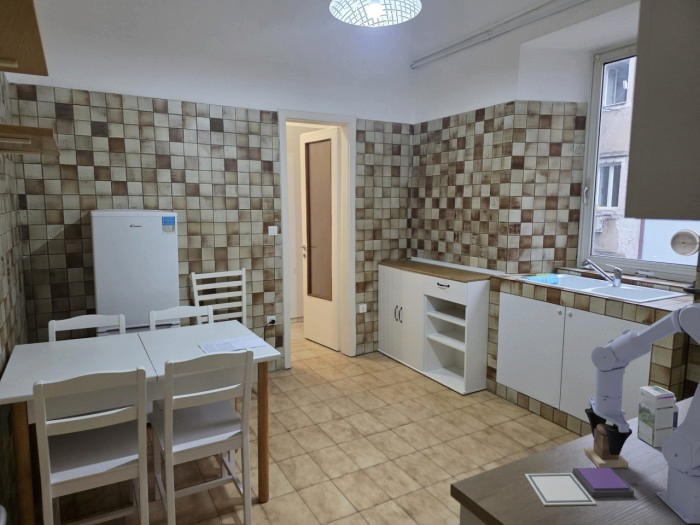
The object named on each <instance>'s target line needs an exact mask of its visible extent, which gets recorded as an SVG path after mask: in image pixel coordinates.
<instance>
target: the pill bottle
mask: <svg viewBox="0 0 700 525" xmlns="http://www.w3.org/2000/svg"><path fill="white" fill-rule="evenodd" d="M676 403H677V397H676V396H674V413H673V430H672V433H673V431H674V430H675V429H676V428H677V427H678V422H679V421H678V420H679V406H678V405H677V404H676Z"/></svg>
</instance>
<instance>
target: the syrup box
mask: <svg viewBox="0 0 700 525" xmlns="http://www.w3.org/2000/svg"><path fill="white" fill-rule="evenodd" d="M638 394H639V395H638V396H639V397H638V414H637V415H638V416H637V436H636V437H637V438H638V439H640V440H641V441H643V442H645V443H646V444H648V445H649V446H651V447H652V448H662V444H663V443H664V441H665V440H667V439H669V438H670V437H671V436H672V430H673V413H674V397H675V393H674V392H672V391H670V390H668V389H666V388H663V387H661V386H659V385H656V384H655V385H646V386H645V385H644V386H640V387H639V393H638Z"/></svg>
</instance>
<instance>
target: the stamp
mask: <svg viewBox="0 0 700 525" xmlns="http://www.w3.org/2000/svg"><path fill="white" fill-rule="evenodd" d="M604 426H613V424H610V423H606V424H598V425H597V429H594V438H593V447H584V450H583V451H584V454H585V455H586V456H587V457H588V458H589V459H590V461H592V463H593V464H594V465H595V466H596V468H612V469H627V468H629V462H628V461H627V460H626V458H624V457H623V456H622V455H621V454H620V455H611V454H610V452H609V444H608V437H607V433H606V431H605V428H604Z"/></svg>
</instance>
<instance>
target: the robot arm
mask: <svg viewBox="0 0 700 525" xmlns="http://www.w3.org/2000/svg"><path fill="white" fill-rule="evenodd" d="M676 333H686V334H688V336H690V337H691V338H692V339H693V340H694V341H695V342H697V344H699V345H700V302H699V303H688V304H686V305H684V306H683V307H680V308H676V309H675V310H673V311H671V312H669V313H668V314H666V315H665V316H663V317H662V318H660V319H659V320H657V321H655V322H654V323H653V324H651V325H649V326H648V327H646V328H644V329H643V330H638V329H625V330H623V331H622V335H620V336H618V337H617V338H616V339H614V338H613V339H609V340H608V341H607V342H608V343H607V344H606V345H598V346H595V348H594V349H592V352H591V362H592V363H593V365H594V367H595V371H596V373H595V393H594V397H589V398H588V401H587V402H588V406H589V408H585V409H584V412H585V414H586V416H587V418H588V421H589V425H590V431H591V435H592V438H593V439H594V429H597V425H598V424H607V421H608V422H610V423H612V426H604V428H605V431H606V433H607V437H608V444H609V452H610V454H611V455H620V456H621V453H622V449H623V447H624V445H625V443H626V441H627V440H628V438H629V437H630V436H631V435H632V434H633V430H632V428H630V424H629V422H627V420H626V418H625V416H624V415H626V413H627V411H626V410H624V409H623V408H622V406H623V386H624V374H626V368H627V367H629V365H630V363H631V362H633V361H635V360H636V359H639V358H641V357H643V356H645V355H647V354H649V353H650V352H651V351H652V350H653V349H652V348H653V344H654V343H657V342H659V341H662V340H663V339H665V338H667V337H669V336H670V337H671V336H672V335H674V334H676ZM661 452H662V456H663V458H664V460H665V461H666V462H667V465H668V467H667V480H666V481H667V482H666V484H667V485H666V491H657V492H656V495H657V497H659V499H661V500H662V501H663V502H664V503H665V504H666V505H667V506H668V507H669V508H670V509H671V510H672V511H673V512H674V513H675V514H676V515H677V516H679V518H681V520H683V522H684V523H686V524H700V380H699V382H698V384H697V387H696V389H695V392H694V395H693V397H692V399H691V402H690V404H689V407H688V410H687V412H686V414H685V417H684V419H683V422H682V423H680V424H679V425H677V428H676V429H675V430H674V431H673V433H672V436H671V437H670V438H669V439H667V440H665V441H664V443H663V444H662V447H661Z"/></svg>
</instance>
